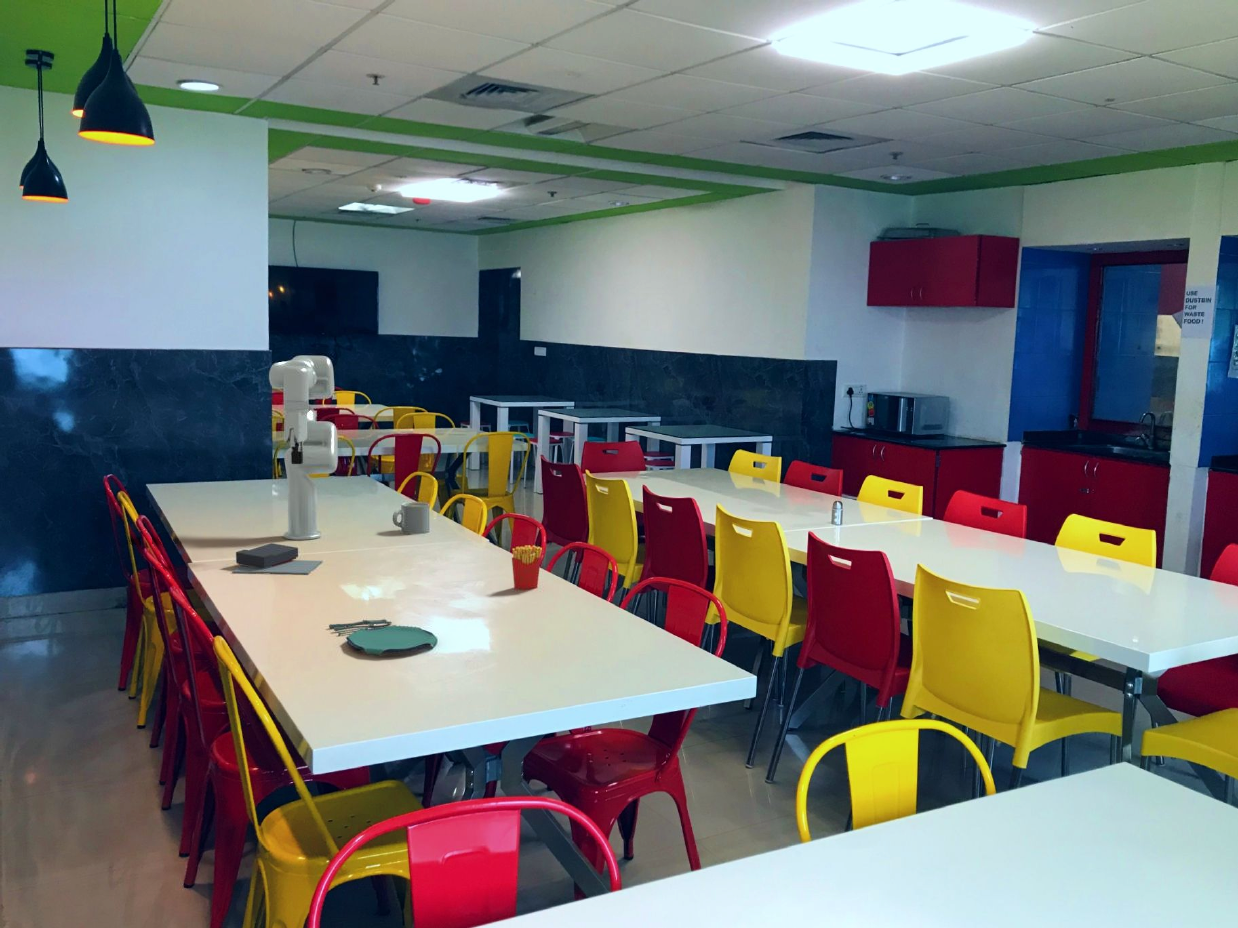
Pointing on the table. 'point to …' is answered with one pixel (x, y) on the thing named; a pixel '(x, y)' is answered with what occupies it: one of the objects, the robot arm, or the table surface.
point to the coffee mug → (413, 517)
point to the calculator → (266, 556)
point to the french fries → (526, 566)
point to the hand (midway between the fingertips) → (297, 463)
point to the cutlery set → (386, 637)
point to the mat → (283, 568)
